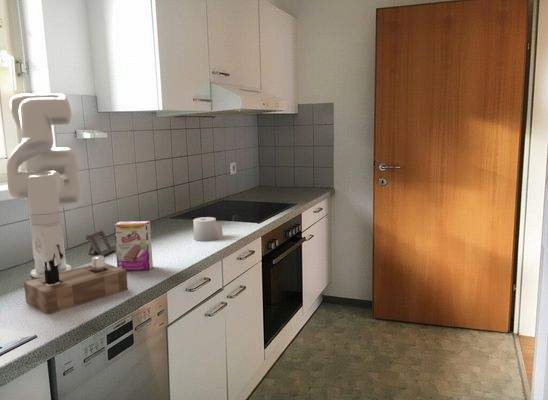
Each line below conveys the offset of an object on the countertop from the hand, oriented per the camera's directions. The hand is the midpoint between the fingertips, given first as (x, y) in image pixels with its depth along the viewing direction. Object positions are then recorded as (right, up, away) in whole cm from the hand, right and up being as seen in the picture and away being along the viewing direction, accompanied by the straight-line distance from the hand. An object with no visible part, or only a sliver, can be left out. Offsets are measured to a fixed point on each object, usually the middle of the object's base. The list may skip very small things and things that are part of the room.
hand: (52, 282), depth 135 cm
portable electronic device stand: (-5, +2, +52) cm, 52 cm away
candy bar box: (+14, -1, +31) cm, 34 cm away
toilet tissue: (+34, +6, +71) cm, 79 cm away
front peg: (0, -6, +1) cm, 6 cm away
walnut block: (+5, -5, +6) cm, 9 cm away
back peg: (+9, 0, +11) cm, 14 cm away
